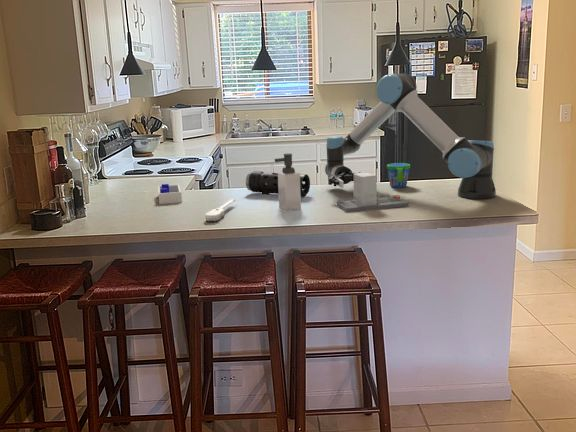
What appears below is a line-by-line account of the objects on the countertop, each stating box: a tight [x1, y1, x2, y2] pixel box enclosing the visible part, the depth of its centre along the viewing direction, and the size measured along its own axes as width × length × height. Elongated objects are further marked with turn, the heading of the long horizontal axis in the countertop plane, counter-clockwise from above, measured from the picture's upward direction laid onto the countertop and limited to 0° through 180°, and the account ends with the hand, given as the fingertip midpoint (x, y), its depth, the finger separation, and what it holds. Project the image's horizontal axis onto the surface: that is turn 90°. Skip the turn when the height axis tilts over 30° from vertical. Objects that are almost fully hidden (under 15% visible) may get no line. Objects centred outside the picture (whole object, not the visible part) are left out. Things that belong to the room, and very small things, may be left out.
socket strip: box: [336, 194, 410, 213], centre depth 230 cm, size 26×12×2 cm, turn 103°
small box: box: [353, 172, 378, 207], centre depth 228 cm, size 8×6×13 cm
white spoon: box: [204, 198, 237, 222], centre depth 227 cm, size 28×6×3 cm, turn 167°
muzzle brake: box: [245, 170, 311, 198], centre depth 255 cm, size 10×28×10 cm, turn 64°
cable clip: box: [160, 183, 170, 193], centre depth 256 cm, size 12×4×6 cm, turn 8°
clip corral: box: [157, 184, 183, 205], centre depth 256 cm, size 10×18×4 cm, turn 13°
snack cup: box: [386, 162, 411, 188], centre depth 264 cm, size 16×10×10 cm
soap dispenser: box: [274, 153, 302, 212], centre depth 228 cm, size 6×9×22 cm
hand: (358, 183), depth 233 cm, fingers open, 13 cm apart
